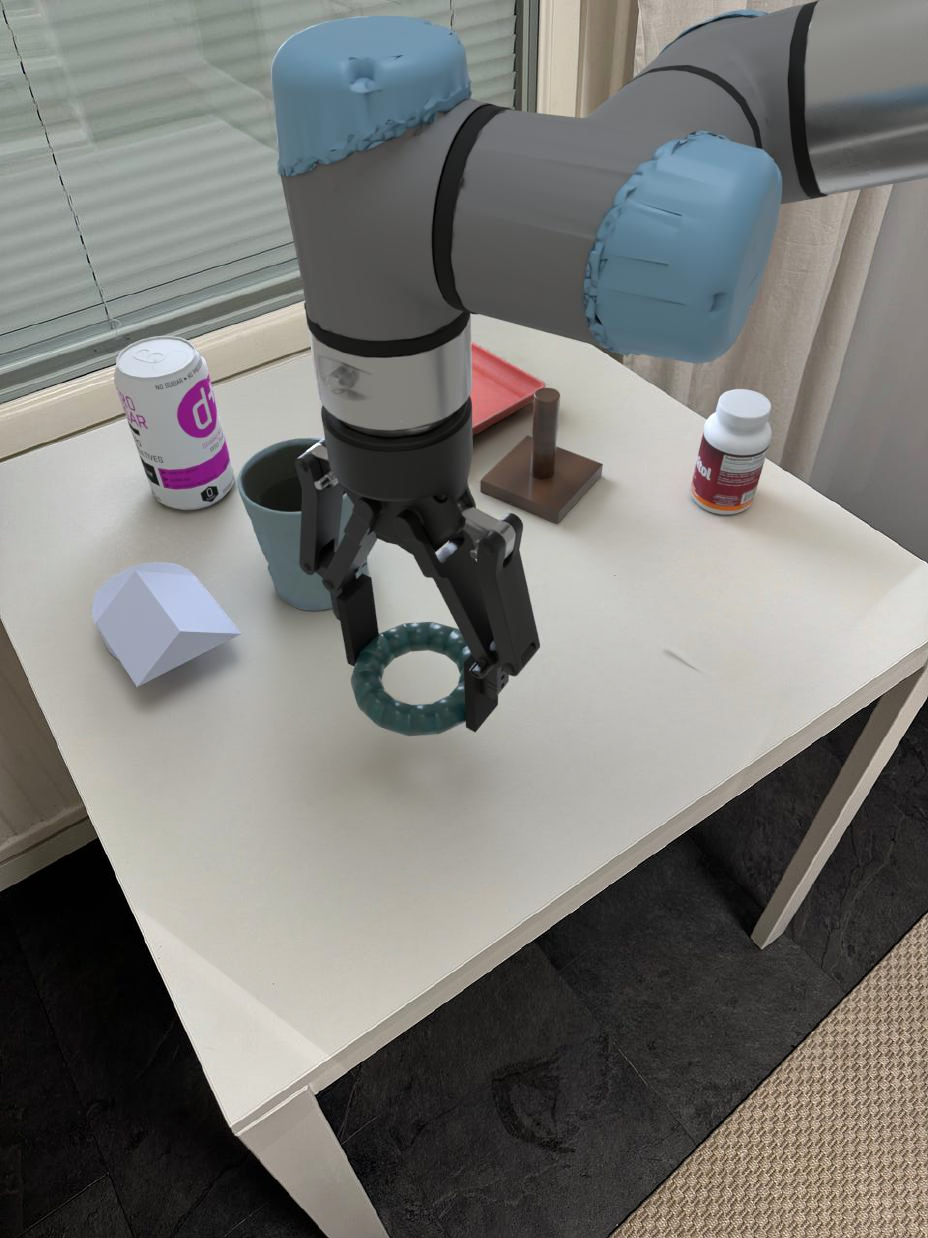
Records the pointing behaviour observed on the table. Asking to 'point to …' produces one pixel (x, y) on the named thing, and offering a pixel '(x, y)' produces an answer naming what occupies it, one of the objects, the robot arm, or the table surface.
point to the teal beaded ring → (399, 713)
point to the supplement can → (174, 421)
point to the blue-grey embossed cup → (285, 520)
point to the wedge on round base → (158, 619)
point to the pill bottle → (732, 452)
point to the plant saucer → (497, 388)
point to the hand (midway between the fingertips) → (421, 683)
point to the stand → (542, 467)
